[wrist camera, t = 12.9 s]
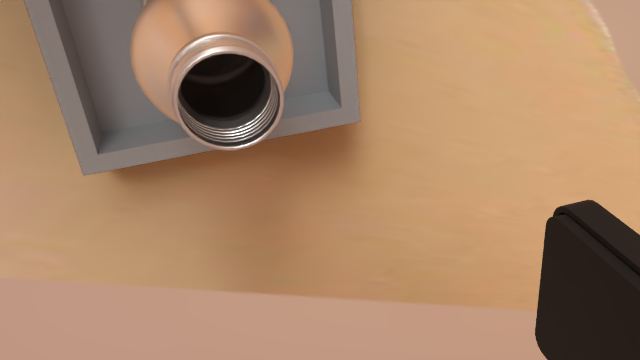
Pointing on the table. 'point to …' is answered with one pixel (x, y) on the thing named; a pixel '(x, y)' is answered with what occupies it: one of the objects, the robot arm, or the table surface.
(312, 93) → the bin
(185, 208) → the table surface
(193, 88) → the plastic bottle
